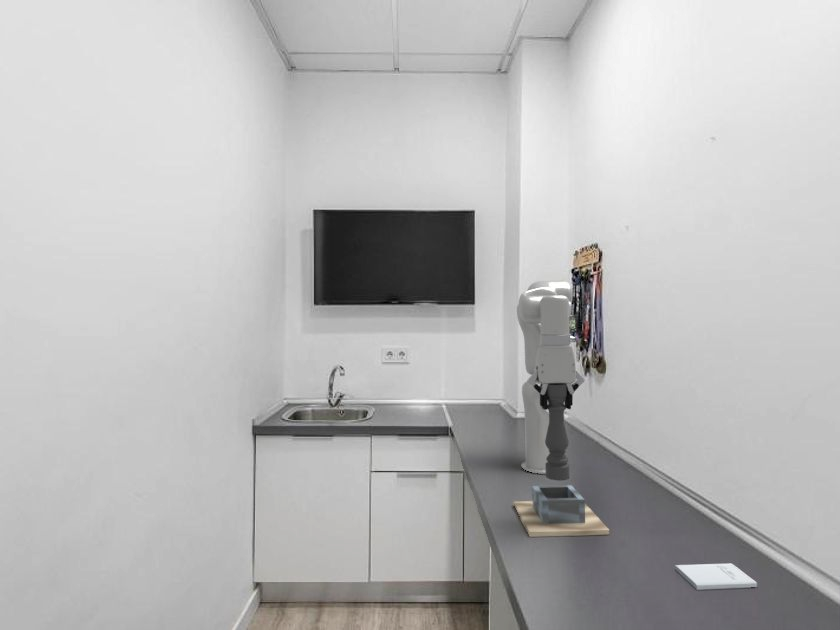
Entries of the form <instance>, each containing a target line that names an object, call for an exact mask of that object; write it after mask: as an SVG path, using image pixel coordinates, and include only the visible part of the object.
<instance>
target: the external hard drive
mask: <svg viewBox="0 0 840 630" xmlns="http://www.w3.org/2000/svg"><path fill="white" fill-rule="evenodd" d="M674 569H675V571H676V572H678V574H679V575H681V576H682V577H683V578H684V579H685V581H687V582H688V583H689V584H690V585H691V586H692V587H694V589H696V591H700V590H701V591H702V590H703V591H705V590H723V589H724V590H726V589H727V590H728V589H749V588H751V587H755V588H758V582H757V581H756V580H754V579H753V578H751V577H750V576H749V575H748V574H746V573H745V572H744V571H742V570H741V569H740V568H739V567H737V566H736V565H735V564H733V563H732V562H731V563H705V564H704V563H703V564H700V563H699V564H698V563H697V564H676V565H674Z"/></svg>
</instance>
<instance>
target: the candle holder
mask: <svg viewBox="0 0 840 630" xmlns="http://www.w3.org/2000/svg"><path fill="white" fill-rule="evenodd" d="M546 395H547V400H548V402H549V404H548V405H547V412H548V413H549V425H548V430H547V435H546V439H545V444H546V446H547V448H548V449H549V452H550V454H549V455H548V456H547V458H546V460H547V461H548V462H546V464H545V467H546V474H545V478H546V479H548V480H553V481H558V482H559V481H567V480H569V479H570V464H569V463H568V462H569V458H568V457H567V455H566V450H567V449H568V447H569V443H570V442H569V437H568V433H567V429H566V425H565V414H564V413H565V410H567V408H566V406H565V405H564V401H565V400H566V396H567V384H548V386H547V389H546Z"/></svg>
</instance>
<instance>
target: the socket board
mask: <svg viewBox="0 0 840 630" xmlns="http://www.w3.org/2000/svg"><path fill="white" fill-rule="evenodd" d="M531 488H532V490H531V491H532V492H531V493H532V494H531V495H532V497H531V498H532V500H528V501H527V500H525V501H523V500H522V501H513V503H512V504H514V506H515V508H516V510H517V512H518V514H519V515H518V514H517V515H518V517H519V516H520V517H519V519H520V521H521V523H522V524H523V527H524V528H525V531H526V532H528V533H527V534H528V536H529V537H530V538H534V537H535V538H539V537H571V536H572V537H573V536H575V537H577V536H578V537H579V536H610V529H609V528H608V527H607V526H606V524H604V522H603V521H602V520H601V519H600V518H599V516H597V515H596V513H594V511H593V510H592V509H591V508H590V506H588V505H587V503H586V501H585V498H584V497H583V496H582V495H581V494H580V493H579V492H578V491H577V490H576V489H575V488H574V486H573V485H571V484H568V485H567V484H565V485H564V484H563V485H562V484H561V485H558V484H557V485H532V487H531ZM514 506H513V507H514ZM515 508H514V509H515ZM516 510H515V511H516ZM517 512H516V513H517Z"/></svg>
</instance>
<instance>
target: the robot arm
mask: <svg viewBox="0 0 840 630" xmlns="http://www.w3.org/2000/svg"><path fill="white" fill-rule="evenodd" d="M573 295H574V294H573V289H572V286H571V284H570V283H569V282H568V281H567V280H539V281H535V282H533V283H531V284H530V285H529V286H528V288H527V291H524V292H522V293H520V296H519V299H518V304H517V306H516V317H517V321H518V324H519V327H520V330H521V332H522V335H523V339H524V364H525V370H526V373H527V374H528V375H530V377H528V379H527V381H525V382H524V383H523V384H522V387H521V396H522V401H523V409H524V436H525V438H524V440H525V441H524V442H525V443H524V444H525V446H524V449H525V461H523V462H522V463H521V464H520V467H522V468H523V469H524V470H523V469H522V468H521V469H522V470H523V471H525V470H526V471H525V472H527V471H529V472H528V473H530V472H532V473H531V474H537V473H538V474H539V475H546V467H545V464H546V462H548V461H547V460H546V458H547V456H548V455H549V454H550V452H549V449H548V448H547V446H546V444H545V439H546V435H547V430H548V425H549V411H548V409H547V405H548V404H549V402H548V400H547V395H546V389H547V386H548V384H567V396H566V400H565V401H564V405H565V406H566V410H571V409H572V406H573V400H574V393H575V392H576V390H578V389H579V387H580V386H582V384H583V383H584V382H585V379H584V377H582V375H581V374H580V373H579V372H578V371H577V370H576V369H577V368H576V360H575V354H574V349H573V346H572V345H571V343H573V342H575V341H576V337H575V336H572V335H571V334H570V316H571V315H572V303H573V297H574V296H573ZM538 474H537V475H538Z"/></svg>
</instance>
